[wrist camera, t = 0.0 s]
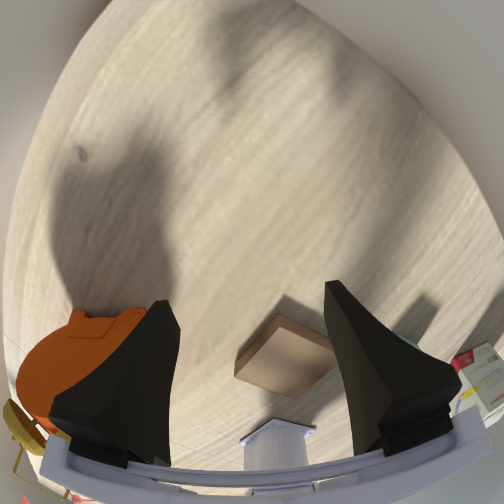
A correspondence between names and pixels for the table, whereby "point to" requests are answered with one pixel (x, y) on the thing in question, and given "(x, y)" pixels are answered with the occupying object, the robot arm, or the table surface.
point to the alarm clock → (61, 372)
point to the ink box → (480, 383)
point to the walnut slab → (286, 358)
